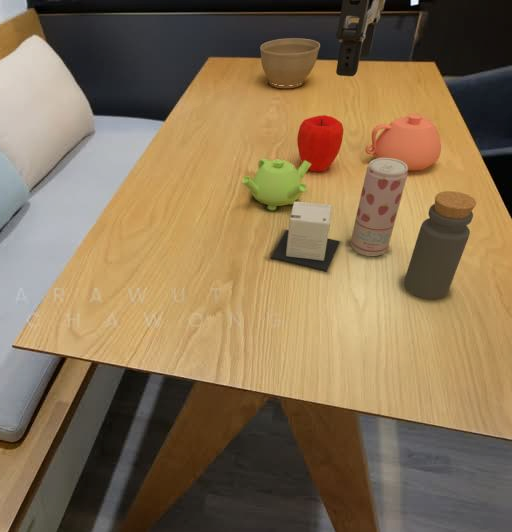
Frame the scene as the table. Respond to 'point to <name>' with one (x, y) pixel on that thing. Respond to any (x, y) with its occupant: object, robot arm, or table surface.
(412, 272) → the bottle
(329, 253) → the coaster
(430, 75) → the table surface
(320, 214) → the white cardboard box
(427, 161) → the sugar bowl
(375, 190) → the beverage can
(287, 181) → the teapot
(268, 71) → the planter bowl
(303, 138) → the apple
